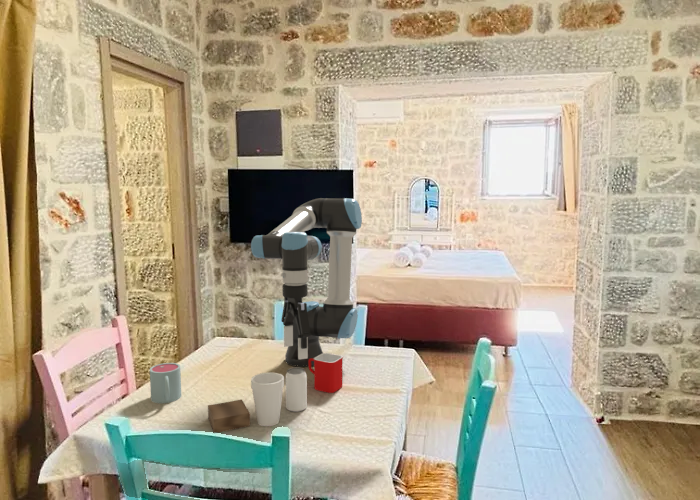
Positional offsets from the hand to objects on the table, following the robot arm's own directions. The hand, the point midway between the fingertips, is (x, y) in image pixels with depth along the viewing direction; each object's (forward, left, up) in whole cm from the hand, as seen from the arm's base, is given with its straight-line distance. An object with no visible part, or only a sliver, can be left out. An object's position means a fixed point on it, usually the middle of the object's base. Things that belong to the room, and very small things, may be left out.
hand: (295, 352), depth 150 cm
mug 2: (-14, -12, -18) cm, 26 cm away
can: (0, 0, -18) cm, 18 cm away
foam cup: (+10, +5, -18) cm, 21 cm away
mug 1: (+36, -23, -18) cm, 46 cm away
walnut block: (+21, +1, -18) cm, 27 cm away
